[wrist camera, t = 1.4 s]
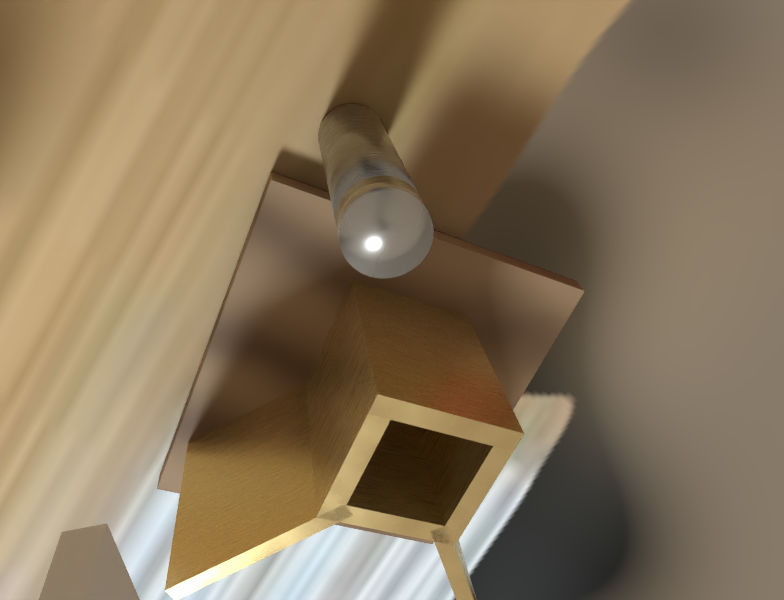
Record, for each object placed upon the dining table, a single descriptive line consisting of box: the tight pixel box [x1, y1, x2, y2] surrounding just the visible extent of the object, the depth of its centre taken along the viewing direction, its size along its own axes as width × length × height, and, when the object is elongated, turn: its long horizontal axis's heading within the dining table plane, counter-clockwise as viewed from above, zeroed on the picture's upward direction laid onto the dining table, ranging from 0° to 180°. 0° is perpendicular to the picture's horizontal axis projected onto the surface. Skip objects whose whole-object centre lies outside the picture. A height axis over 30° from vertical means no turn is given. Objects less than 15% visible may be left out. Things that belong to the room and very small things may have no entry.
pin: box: [318, 103, 434, 278], centre depth 29 cm, size 3×3×12 cm
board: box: [157, 172, 584, 544], centre depth 40 cm, size 20×18×1 cm
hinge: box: [165, 280, 524, 600], centre depth 36 cm, size 13×17×10 cm
